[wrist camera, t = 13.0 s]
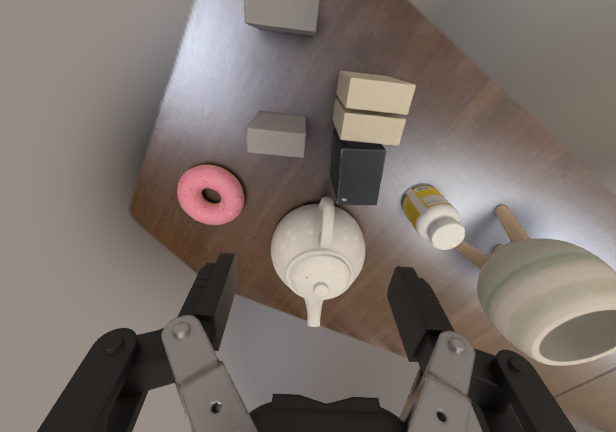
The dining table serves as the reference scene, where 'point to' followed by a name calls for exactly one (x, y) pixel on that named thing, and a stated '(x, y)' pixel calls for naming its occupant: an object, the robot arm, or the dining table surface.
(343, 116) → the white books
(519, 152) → the dining table surface
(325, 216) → the teapot
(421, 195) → the pill bottle
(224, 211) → the doughnut
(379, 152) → the box
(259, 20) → the grey books
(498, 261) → the planter
